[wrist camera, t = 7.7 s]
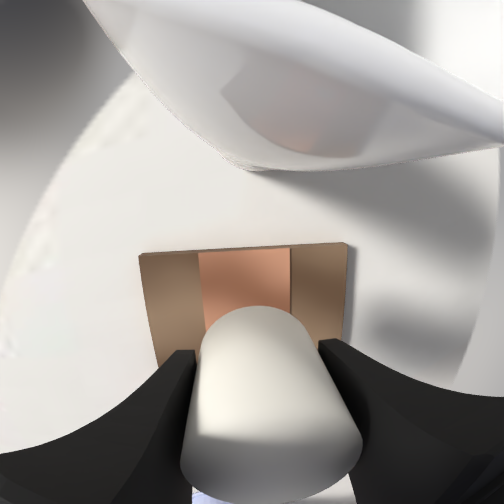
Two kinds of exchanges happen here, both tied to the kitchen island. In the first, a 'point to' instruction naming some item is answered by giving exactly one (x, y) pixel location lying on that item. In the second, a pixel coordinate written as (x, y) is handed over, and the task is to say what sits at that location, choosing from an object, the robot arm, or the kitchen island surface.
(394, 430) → the robot arm
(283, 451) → the ivory pawn
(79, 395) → the kitchen island surface
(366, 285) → the kitchen island surface
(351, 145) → the drinking glass
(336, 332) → the game board
